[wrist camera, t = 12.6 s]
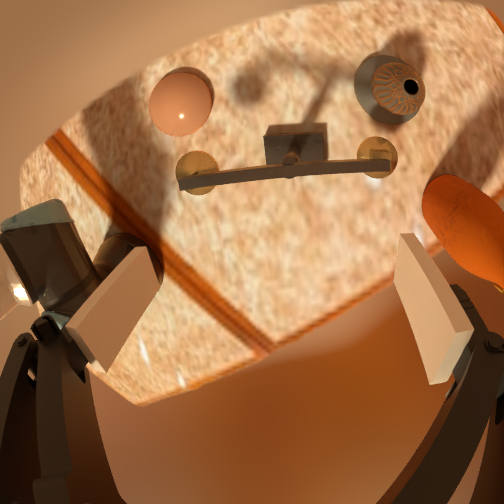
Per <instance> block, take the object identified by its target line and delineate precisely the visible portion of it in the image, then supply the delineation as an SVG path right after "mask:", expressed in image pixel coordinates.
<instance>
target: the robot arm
mask: <svg viewBox="0 0 504 504" xmlns="http://www.w3.org/2000/svg"><path fill="white" fill-rule="evenodd" d="M0 230H1V232H2V234H0V320H1V319H2V318H3V317H4V316H5V315H7V314H8V313H9V312H10V311H11V310H12V309H13V308H14V307H15V306H17V305H18V304H22V305H27V306H32V305H33V304H34V303H35V302H37V301H38V300H39V302H40V304H41V305H42V307H43V308H44V310H45V311H44V312H43V313H42V314H41V317H39V318H38V319H37V320H36V321H35V322H34V323H33V324H32V326H31V328H30V329H31V330H32V332H33V333H34V335H35V336H36V338H37V339H38V340H35V339H34V338H33V336H32V335H31V334H30V333H24V334H21V335H19V336H18V338H17V339H16V340H15V342H14V343H13V346H12V348H11V351H10V353H9V356H8V358H7V361H6V363H5V366H4V368H3V371H2V374H1V377H0V504H127V503H126V502H125V501H124V500H123V499H122V498H121V496H120V495H119V493H118V490H117V488H116V485H115V482H114V479H113V476H112V473H111V470H110V466H109V463H108V460H107V457H106V453H105V450H104V446H103V442H102V438H101V434H100V430H99V426H98V421H97V417H96V412H95V407H94V402H93V396H92V390H91V384H90V377H89V371H88V369H87V368H86V364H87V363H88V362H89V363H90V364H91V366H92V367H93V369H94V370H96V371H100V372H103V373H107V371H108V370H109V368H110V366H111V365H112V363H113V361H114V360H115V358H116V356H117V355H118V353H119V351H120V350H121V348H122V346H123V345H124V343H125V342H126V340H127V338H128V337H129V335H130V334H131V332H132V330H133V329H134V327H135V326H136V324H137V322H138V321H139V319H140V318H141V316H142V315H143V313H144V312H145V310H146V308H147V307H148V305H149V304H150V302H151V301H152V299H153V298H154V296H155V295H156V293H157V292H158V290H159V289H160V286H161V284H162V280H163V273H162V268H161V265H160V262H159V260H158V258H157V257H156V255H155V254H154V252H153V251H152V250H151V249H150V248H149V247H148V245H146V244H145V243H144V242H143V241H141V240H140V239H138V238H137V237H134V236H132V235H129V234H125V233H118V234H114V235H112V236H110V237H109V238H108V239H107V240H105V241H104V242H103V243H102V245H101V246H100V248H99V250H98V253H97V254H96V256H95V258H94V260H93V262H92V261H91V259H90V257H89V255H88V253H87V251H86V249H85V247H84V245H83V242H82V240H81V238H80V236H79V234H78V231H77V229H76V227H75V225H74V220H73V219H72V218H71V216H70V214H69V212H68V210H67V208H66V206H65V204H64V203H63V202H62V201H61V200H59V199H52V200H48V201H46V202H43V203H40V204H38V205H35V206H33V207H31V208H28V209H26V210H24V211H22V212H20V213H18V214H17V215H14V216H12V217H10V218H8V219H6V220H4V221H3V222H2V223H1V224H0ZM394 284H395V286H396V288H397V291H398V293H399V295H400V298H401V301H402V303H403V306H404V308H405V311H406V314H407V316H408V319H409V322H410V324H411V327H412V330H413V333H414V335H415V339H416V341H417V344H418V348H419V350H420V354H421V357H422V360H423V363H424V367H425V370H426V373H427V377H428V380H429V384H430V385H432V384H437V383H442V382H446V381H447V380H448V379H449V377H450V375H451V373H452V372H453V374H454V377H455V381H454V383H453V384H452V386H451V388H450V389H449V391H448V392H447V394H446V395H445V396H447V397H446V399H445V401H444V403H443V405H442V407H441V409H440V411H439V413H438V415H437V417H436V418H435V420H434V422H433V424H432V425H431V427H430V429H429V431H428V432H427V434H426V436H425V437H424V439H423V441H422V442H421V444H420V445H419V447H418V449H417V450H416V452H415V453H414V455H413V456H412V458H411V459H410V461H409V462H408V463H407V465H406V466H405V468H404V469H403V471H402V472H401V473H400V474H399V476H398V477H397V478H396V480H395V481H394V482H393V484H392V485H391V486H390V487H389V489H388V490H387V491H386V493H385V494H384V495H383V496H382V497H381V498H380V500H379V501H378V502H377V503H376V504H447V503H448V501H449V500H450V498H451V496H452V495H453V493H454V491H455V490H456V488H457V486H458V485H459V483H460V481H461V479H462V477H463V475H464V473H465V472H466V470H467V468H468V466H469V464H470V462H471V459H472V458H473V456H474V453H475V451H476V449H477V447H478V444H479V442H480V440H481V437H482V435H483V433H484V430H485V427H486V425H487V422H488V419H489V417H490V420H489V427H488V433H487V440H486V445H485V450H484V455H483V459H482V463H481V467H480V471H479V475H478V478H477V482H476V485H475V488H474V492H473V494H472V498H471V500H470V503H469V504H504V339H503V338H502V337H501V336H500V335H498V334H497V333H494V332H489V331H488V329H487V327H486V325H485V324H484V322H483V320H482V318H481V317H480V315H479V313H478V312H477V310H476V308H474V305H473V303H472V302H471V301H470V298H469V297H468V295H467V294H466V292H465V291H464V290H463V289H461V288H460V287H459V286H458V285H457V284H454V285H449V284H448V283H447V281H446V280H445V278H444V276H443V275H442V273H441V272H440V270H439V269H438V267H437V266H436V264H435V263H434V261H433V260H432V258H431V257H430V255H429V254H428V252H427V251H426V250H425V248H424V247H423V245H422V244H421V243H420V241H419V240H418V238H417V237H416V236H415V234H414V233H408V234H400V237H399V246H398V254H397V261H396V268H395V274H394ZM28 370H30V371H31V372H32V374H33V375H34V376H35V378H34V380H32V379H31V378H30V377H29V375H28V374H27V373H28Z"/></svg>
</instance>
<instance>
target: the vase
mask: <svg viewBox="0 0 504 504" xmlns="http://www.w3.org/2000/svg"><path fill="white" fill-rule="evenodd" d="M370 87H371V92H372V95H373V97H374V99H375V100H376V102H377V103H378V104H379V105H380V106H381V107H382V108H383V109H385V110H386V111H388V112H391V113H393V114H398V115H407V114H410V113H413V112H415V111H416V110H418V109H419V108H420V107H421V105H422V104H423V102H424V99H425V86H424V83H423V81H422V79H421V77H420V76H419V74H418V73H417V72H416V71H415V70H413V69H412V68H411V67H409V66H407V65H405V64H402V63H396V62H392V63H387V64H384V65H382V66H380V67H379V68H378V69H376V71H375V72H374V73H373V75H372V78H371V83H370Z"/></svg>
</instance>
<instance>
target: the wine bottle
mask: <svg viewBox="0 0 504 504" xmlns="http://www.w3.org/2000/svg"><path fill="white" fill-rule="evenodd" d="M422 212H423V216H424V218H425V220H426V222H427V224H428V225H429V227H430V228H431V230H432V231H433V233H434V234H435V235H436V237H437V238H438V240H439V241H440V242H441V244H442V245H443V247H444V248H445V249H446V251H447V252H448V253H449V255H450V256H451V257H452V258H453V259H454V260H455V261H456V262H457V263H458V264H459V265H460V266H461V267H463V268H464V269H466V270H467V271H469V272H470V273H472V274H474V275H476V276H478V277H481V278H483V279H486V280H489V281H492V282H494V286H495V287H496V288H497V289H498V290H499V291H501V292H502V293H504V212H503V211H502V209H501V208H500V207H499V205H498V204H497V203H496V202H495V201H494V200H492V199H491V198H490V197H489V196H487V195H486V194H485V193H483V192H482V191H480V190H479V189H478V188H476V187H474V186H473V185H471V184H470V183H468V182H466V181H464V180H463V179H461V178H459V177H457V176H454V175H442V176H439V177H437V178H436V179H434V180H433V181H432V182H431V183H430V184H429V185H428V186H427V188H426V190H425V192H424V195H423V198H422Z"/></svg>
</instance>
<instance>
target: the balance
mask: <svg viewBox="0 0 504 504" xmlns="http://www.w3.org/2000/svg"><path fill="white" fill-rule="evenodd" d="M263 137H264V146H265V156H266V165H264V166H255V167H246V168H238V169H230V170H223V171H219V167H218V164H217V162H216V161H215V159H214V158H213V157H212V156H211V155H209V154H208V153H206V152H203V151H192V152H189V153H187V154H185V155H184V156H182V157H181V158H180V160H179V161H178V163H177V166H176V178H177V181H178V183H179V188H180V191H182V190H185V191H186V192H188V193H190V194H193V195H204V194H206V193H208V192H210V191H211V190H212V189H213V188H214V187H215V186H216V185H223V184H230V183H238V182H246V181H255V180H264V179H274V178H284V177H285V178H288V179H291V178H294V177H296V176H308V175H322V174H338V173H358V172H364V173H365V174H366V175H368V176H370V177H372V178H384V177H387V176H388V175H390V174H391V173H392V172H393V171H394V169H395V168H396V165H397V161H398V156H397V152H396V149H395V147H394V146H393V145H392V143H391V142H389V141H388V140H386V139H384V138H382V137H377V136H376V137H370V138H367V139H366V140H364V141H363V142H362V143H361V144H360V146H359V148H358V151H357V159H349V160H327V161H324V150H323V134H322V132H306V133H284V134H269V135H264V136H263Z"/></svg>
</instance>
